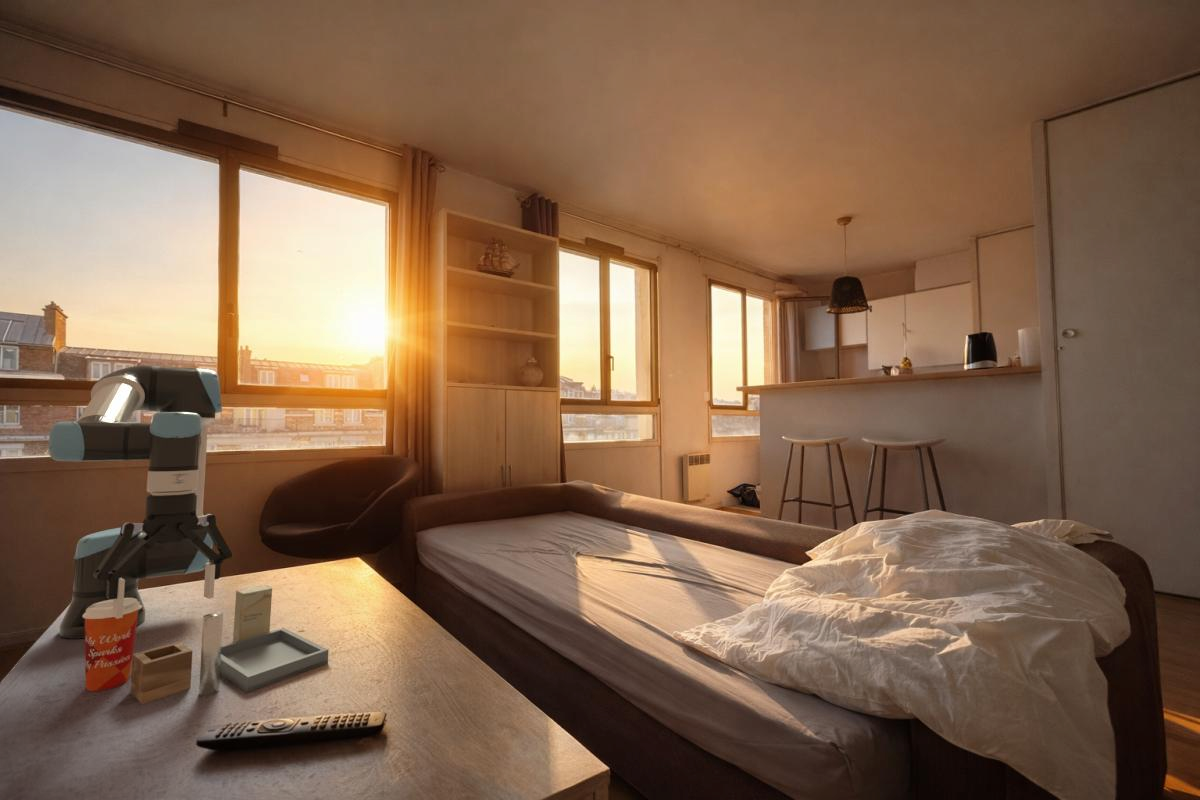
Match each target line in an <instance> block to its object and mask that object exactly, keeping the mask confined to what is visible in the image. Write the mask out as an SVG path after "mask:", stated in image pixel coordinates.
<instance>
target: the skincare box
mask: <svg viewBox="0 0 1200 800" xmlns="http://www.w3.org/2000/svg"><path fill="white" fill-rule="evenodd" d="M272 597H273V588H272V587H271V586H269V585H267V584H262V585H258V586H253V587H248V588H242V589H236V591H235V606H234V620H233V634H232V642H236V641H239V640H243V639H246V638H250V637H253V636H257V635H260V634H264V633H267V632H271V630H270V627H271V615H272V614H271V613H272V612H271V611H272Z"/></svg>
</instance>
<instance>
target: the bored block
mask: <svg viewBox="0 0 1200 800" xmlns="http://www.w3.org/2000/svg"><path fill="white" fill-rule="evenodd" d="M192 664H193V650H192V649H191V648H189V647H188V646H187V645H185V644H184V643H182V642H181V641H175V642H173V643H169V644H166V645H165V644H164V645H161V646H158V647H154V648H150V649H147V650H142V651H140V652H136V653H133V654H132V662H131V677H130V678H131V680H130V693H131V694H132V696H134V697H135V698H136V700H138V702H139V703H141V704H142V705H144V704H148V703H150V702H153V701H156V700H158V699H162V698H165V697H168V696H171V695H174V694H177V693H180V692H183V691H186V690H189V689H191V682H192V681H191V680H192V668H193V665H192Z"/></svg>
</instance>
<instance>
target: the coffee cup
mask: <svg viewBox="0 0 1200 800" xmlns="http://www.w3.org/2000/svg"><path fill="white" fill-rule="evenodd" d="M113 601H114V599H112V600H106V601H102V602H98V603H95V604H92V605H91V606H90V607H88V608H87V609H86V612H85V613H84V614H83V616H82V617H83V618H85V638H84V655H85V657H84V658H85V659H84V660H85V661H84V664H85V666H84V667H85V669H84V670H85V688H86V691H89V692H99V691H101V692H102V691H105V690H110V689H114V688H116V687H119V686H121V685H124V684H125V683H126V682H128V681H129V678H130V674H131V673H130V672H131V669H132V660H133V654H134V648H135V647H134V646H135V639H136V632H137V626H138V625H137V617H138V610H139V609H141V608H142V606H141V605H140V602H138V601H137V599H135V598H124V603H123V618H118V619H117V618H115V617H114V616H113ZM136 625H137V626H136Z"/></svg>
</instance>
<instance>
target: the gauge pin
mask: <svg viewBox="0 0 1200 800" xmlns="http://www.w3.org/2000/svg"><path fill="white" fill-rule="evenodd" d="M202 618H203V619H202V637H201V649H200V650H201V653H200V669H199V687H198V688H199V689H198V695H199V696H200V697H207V696H212V695H214V694H216V693H218V692H219V691H220V681H221V680H220V679H221V678H220V677H221V674H220V664H221V646H222V645H223V644H222V642H223V641H222V640H223V625H224V623H223V622H224V621H223V620H224V613H223V612H219V611H217V612H211V613H208V614H205V615H203V617H202Z"/></svg>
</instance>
